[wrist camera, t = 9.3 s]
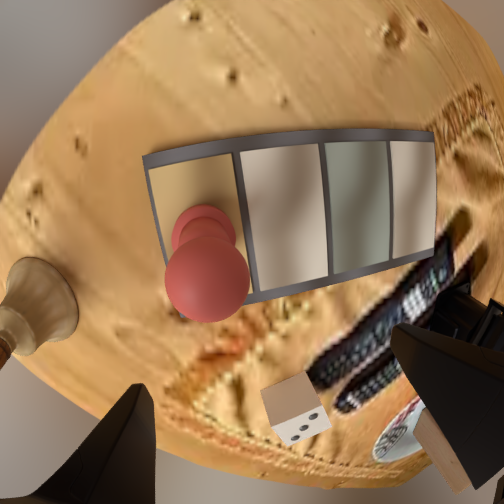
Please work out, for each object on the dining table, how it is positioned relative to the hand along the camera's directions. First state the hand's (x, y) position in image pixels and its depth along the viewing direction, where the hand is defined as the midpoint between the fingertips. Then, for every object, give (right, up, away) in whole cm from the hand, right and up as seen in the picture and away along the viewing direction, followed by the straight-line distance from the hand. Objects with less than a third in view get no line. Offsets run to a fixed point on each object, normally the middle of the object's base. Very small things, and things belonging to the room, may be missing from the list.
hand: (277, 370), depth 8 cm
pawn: (-4, +5, +10) cm, 12 cm away
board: (+4, +7, +12) cm, 15 cm away
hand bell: (-19, 0, +10) cm, 22 cm away
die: (+3, -11, +18) cm, 22 cm away
